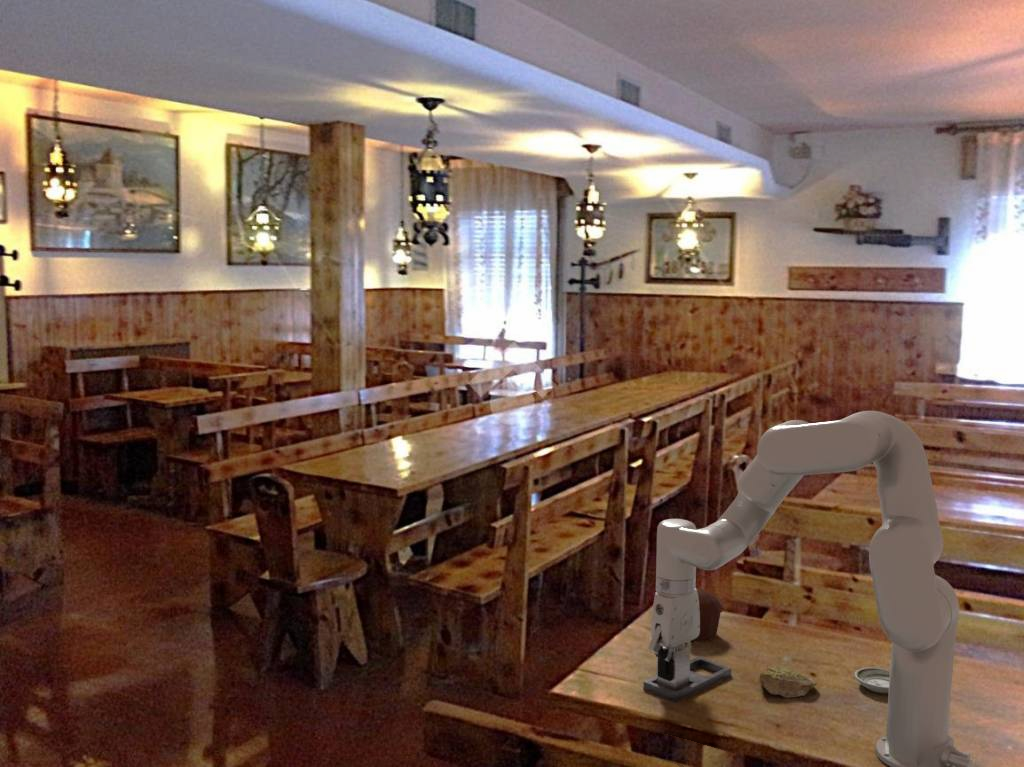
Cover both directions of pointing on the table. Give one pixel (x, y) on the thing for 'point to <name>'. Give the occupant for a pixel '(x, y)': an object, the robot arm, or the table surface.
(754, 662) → the table surface
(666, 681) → the silver rectangular block
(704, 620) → the muffin
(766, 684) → the rock
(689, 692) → the dark grey slotted tray
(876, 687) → the saucer
